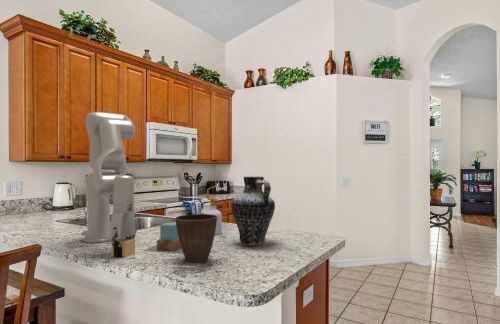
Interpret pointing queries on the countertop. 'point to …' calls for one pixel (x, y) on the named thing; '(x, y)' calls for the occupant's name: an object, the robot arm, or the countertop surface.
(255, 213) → the jug
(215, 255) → the countertop surface
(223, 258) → the countertop surface
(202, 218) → the plant pot
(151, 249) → the grey flat board
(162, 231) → the blue brick
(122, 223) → the robot arm
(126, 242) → the ochre brick
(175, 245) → the walnut base brick
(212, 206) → the soap bottle
